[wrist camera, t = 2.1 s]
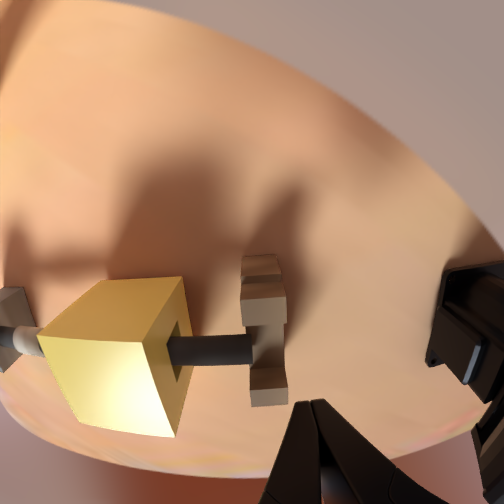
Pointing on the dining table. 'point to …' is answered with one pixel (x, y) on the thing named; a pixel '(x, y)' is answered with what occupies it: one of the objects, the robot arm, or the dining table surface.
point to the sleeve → (122, 355)
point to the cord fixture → (194, 347)
